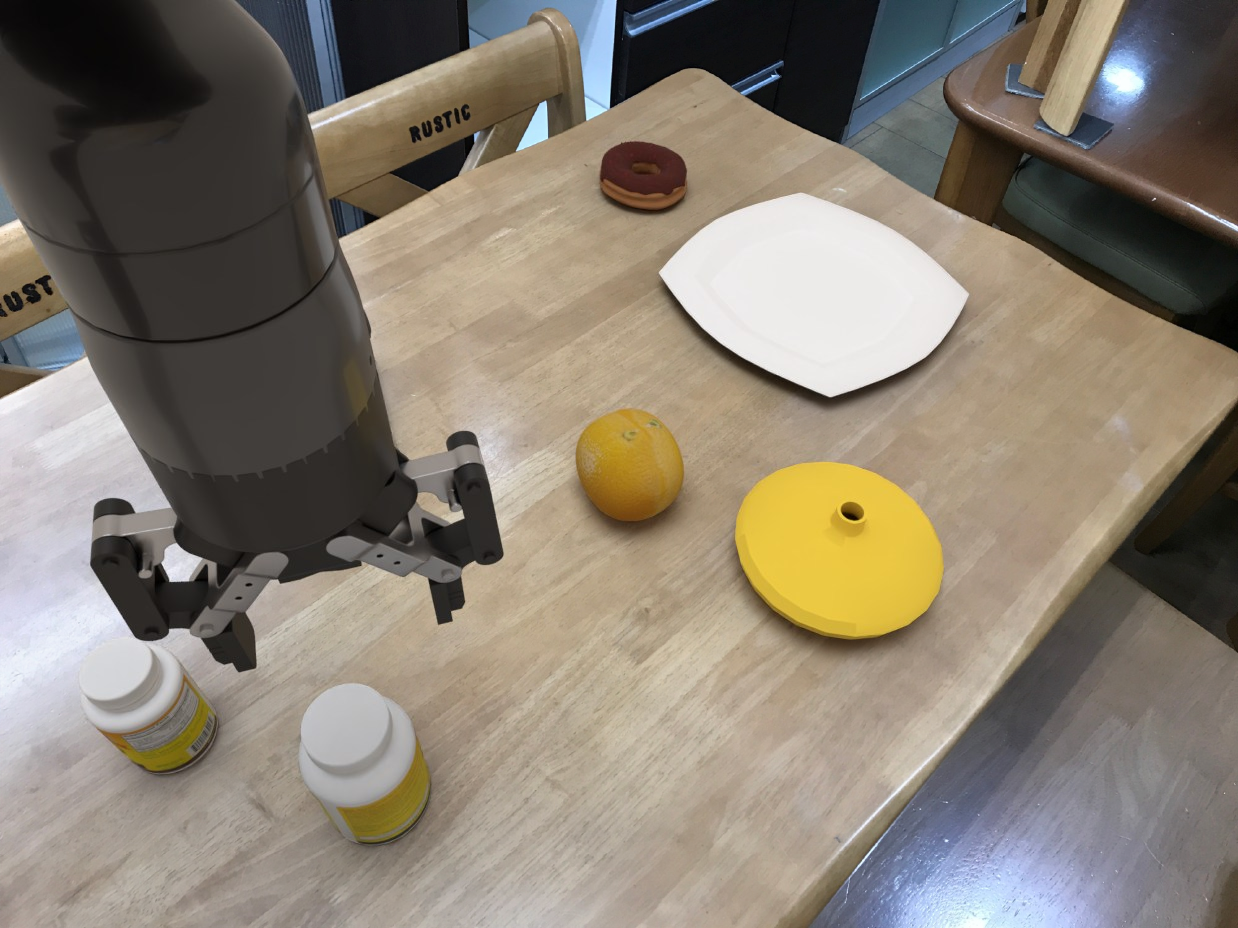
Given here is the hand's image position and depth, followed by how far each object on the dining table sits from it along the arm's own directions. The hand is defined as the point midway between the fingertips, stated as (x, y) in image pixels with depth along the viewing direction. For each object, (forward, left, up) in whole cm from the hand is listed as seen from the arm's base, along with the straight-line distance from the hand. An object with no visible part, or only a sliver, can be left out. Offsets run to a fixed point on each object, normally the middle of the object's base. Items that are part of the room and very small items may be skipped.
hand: (347, 628), depth 40 cm
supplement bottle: (-14, +8, -22) cm, 27 cm away
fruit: (+21, +18, -22) cm, 36 cm away
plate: (+47, +36, -22) cm, 63 cm away
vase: (+34, +7, -22) cm, 41 cm away
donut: (+37, +58, -22) cm, 73 cm away
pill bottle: (-2, 0, -22) cm, 22 cm away
